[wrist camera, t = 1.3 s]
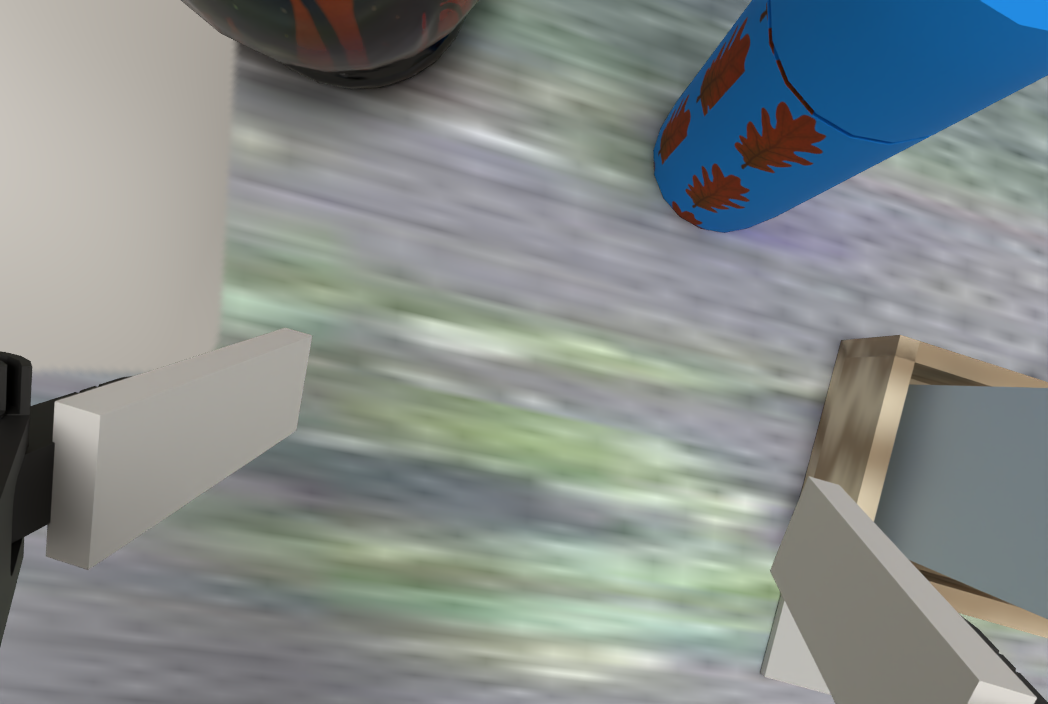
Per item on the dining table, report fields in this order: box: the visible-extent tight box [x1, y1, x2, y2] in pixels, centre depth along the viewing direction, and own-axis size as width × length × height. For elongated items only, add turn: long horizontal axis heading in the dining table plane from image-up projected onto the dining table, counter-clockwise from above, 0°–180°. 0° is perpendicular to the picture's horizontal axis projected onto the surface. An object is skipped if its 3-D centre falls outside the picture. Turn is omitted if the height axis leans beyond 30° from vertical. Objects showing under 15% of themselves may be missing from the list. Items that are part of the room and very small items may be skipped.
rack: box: [800, 335, 1048, 638], centre depth 40 cm, size 16×15×6 cm
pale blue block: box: [874, 384, 1048, 619], centre depth 34 cm, size 11×4×17 cm, turn 163°
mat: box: [760, 594, 831, 695], centre depth 42 cm, size 7×14×1 cm, turn 73°
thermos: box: [653, 0, 1048, 233], centre depth 30 cm, size 11×11×25 cm
